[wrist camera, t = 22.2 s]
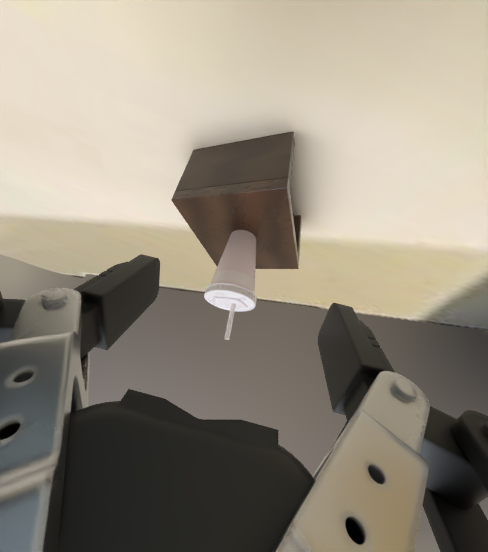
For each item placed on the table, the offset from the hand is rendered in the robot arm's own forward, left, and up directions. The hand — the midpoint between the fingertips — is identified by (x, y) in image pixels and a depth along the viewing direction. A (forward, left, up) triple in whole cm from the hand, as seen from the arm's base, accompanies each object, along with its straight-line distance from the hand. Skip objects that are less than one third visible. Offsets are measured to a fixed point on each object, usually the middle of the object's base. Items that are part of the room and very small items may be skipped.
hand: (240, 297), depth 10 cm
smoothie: (+7, +15, -16) cm, 22 cm away
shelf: (+7, +15, -25) cm, 30 cm away
